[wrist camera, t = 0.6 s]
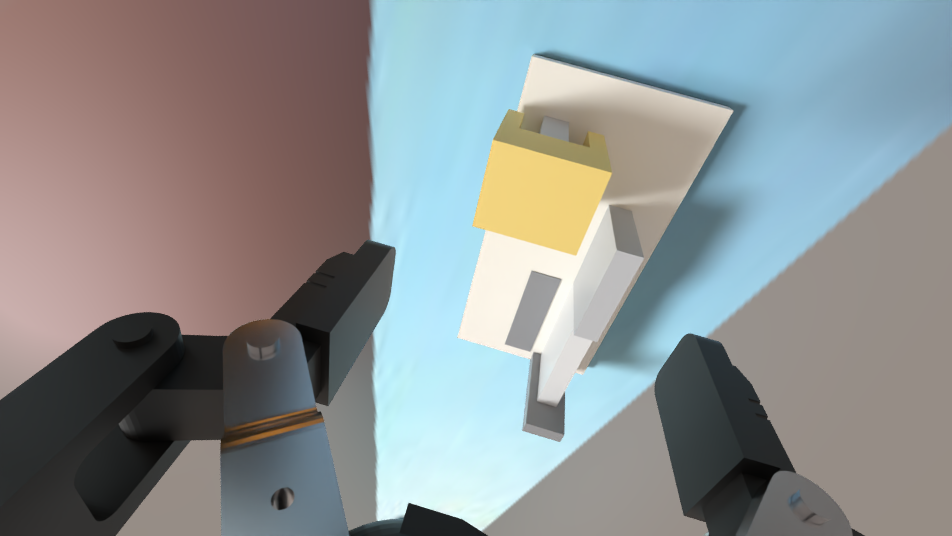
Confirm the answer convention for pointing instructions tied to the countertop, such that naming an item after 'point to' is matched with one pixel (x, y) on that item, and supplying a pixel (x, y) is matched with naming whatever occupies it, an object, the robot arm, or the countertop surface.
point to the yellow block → (542, 186)
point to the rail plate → (608, 236)
